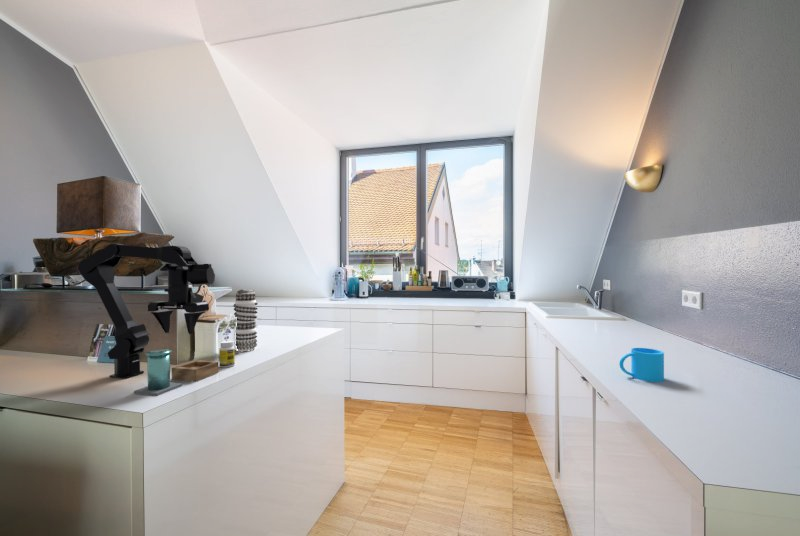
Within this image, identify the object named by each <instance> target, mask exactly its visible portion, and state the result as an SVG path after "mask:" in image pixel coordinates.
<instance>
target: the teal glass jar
mask: <svg viewBox="0 0 800 536" xmlns="http://www.w3.org/2000/svg"><path fill="white" fill-rule="evenodd" d="M171 354H172V349H167V348H166V349H165V348H164V349H163V348H161V349H155V350H149V351H146V352H145V357H147V361H146V362H147V375H146V376H147V386H148V390H150V391H155V390H162V389H165V388H168V387H169V386H170V383H171Z"/></svg>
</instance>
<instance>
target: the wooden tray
mask: <svg viewBox="0 0 800 536" xmlns="http://www.w3.org/2000/svg"><path fill="white" fill-rule="evenodd" d="M219 367H220V366H219V361H215V360H213V361H212V360H199V359H198V360H196V359H195V360H191V361H187V362H185V363H182V364H179V365H175V366H173V367H171V380H173V381H174V380H175V381H184V382H185V381H186V382H194V383H195V382H196V381H197V382H199V381H201V380H204V379H206V378H209V377H211V376H214V375H217V374H219V372H220V371H219Z"/></svg>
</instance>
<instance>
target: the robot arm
mask: <svg viewBox="0 0 800 536" xmlns="http://www.w3.org/2000/svg"><path fill="white" fill-rule="evenodd" d="M124 257H129V258H130V257H131V258H141V259H143V258H144V259H154V260H158V261H160V262H164V263H165V264H164V265H163V266H162V267H160V269H159V270H160V271H161V272H167V288H166V287H165V288H164V292H165V293H167V300H161V301H160V300H159V301H152V302H151V301H150V302H149V304H148V305H147V312H150V314H151V315H153V317H155V319H156V320H157V321H158V323H159V325H160V326H161V328H162V330H163V332H164V333H165V334H168V333H169V332H170V329H171V325H170V324H171V315H172V314H173V312H174V310H184V311H185V313H184V314H183V315H184V316H183V317H184V319H185V324H186V329H187V332H188V335H191V334H193V333H194V331H195V328H196V325H197V323H198V319H199V318H200V317H201V316H202V315H203V314H205V313H206V311H210V305H209V303H208V302H207V301H204V295H202V294H199V293H195V292H193V288H192V287H189V286H190V285H189V284H191V285H193V286H196V285H197V286H198V285H199V286H200V285H201V286H202V285H213V284H214V281H215V278H216V274H215V270H214V268H213V267H212V264H211V263H202V264H200V263H199V264H198V262H197V261H196V259H195V258H194V257H193V256H192V252H191V250H190V249H189V248H188V247H187V246H180V245H165V246H159V247H158V246H156V247H151V246H150V247H149V246H140V245H139V246H138V245H130V244H129V245H127V244H122V243H115V242H112V243H110V244H107V245H106V246H105V247H104V248H102V249H101V250H98V251H96V252H94V253H93V254H91V255H89V256H87V257H86V258H83V259H82V260H80V262H79V263H78V265H77V271H78V272H79V274H80V275H81V277H82V278H83V279H84V281H86V282H87V283H88V284H90V285H91V286H92V287H94V288H95V290H96V292H97V294H98V296H99V298H100V300H101V302H102V304H103V306H104V308H105V310H106V312H107V314H108V315H109V316H108V317H110V320H111V322H112V323H113V326H114V329H115V330H114V340H115V345H114V346H112V348H111V349H110V350H109V351H108V352H107V355H108V358H109V360H114V361H113V362H114V364H113V365H114V373H113V374H110V375H109V377H110V378H118V379H127V378H131V377H133V376H137V375H140V374H144V372H145V371H144V370H141V360H140V354H142V353H144V350H145V347H146V346H148V343H149V341H150V336H149V335H151V334H150V333H149V332H148V331H147V327H146V325H145V324H144V323H141V324H138V323H137V322H135V321H134V320H133V317H132V315H131V314H130V312H129V310H128V307H127V306H126V304H125V301H124V299H123V297H122V295H121V294H120V292H119V290H118V287H117V286H116V284H115V273H116V272H115V269H114V268H115V267H116V266H118V265H119V264H120V262H121V260H123V258H124ZM172 264H173V265H172ZM186 267H187V268H186Z"/></svg>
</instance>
